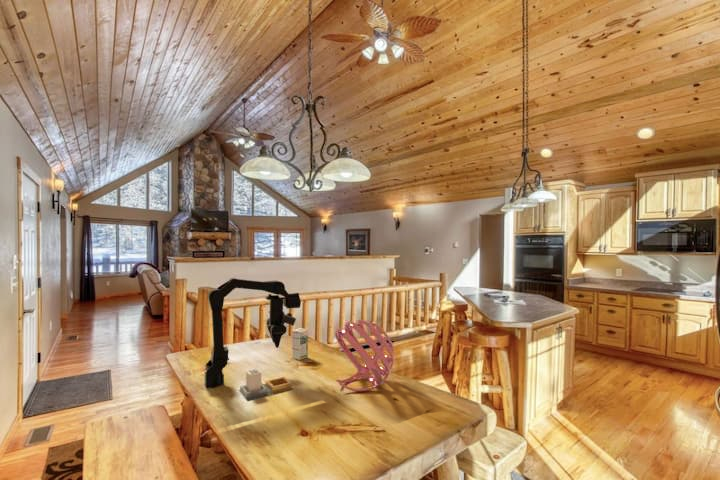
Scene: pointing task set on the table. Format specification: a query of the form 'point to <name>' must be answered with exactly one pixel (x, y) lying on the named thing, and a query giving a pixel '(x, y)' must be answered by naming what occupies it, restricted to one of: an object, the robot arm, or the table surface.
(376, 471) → the table surface
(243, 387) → the panel
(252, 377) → the plug
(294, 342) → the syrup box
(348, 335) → the slotted curved sculpture
